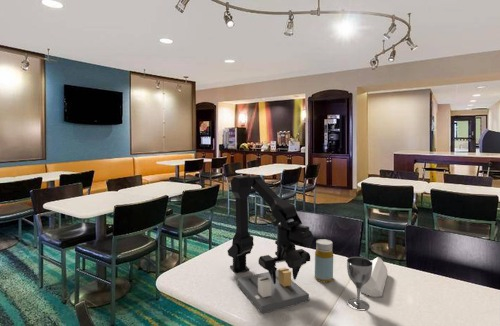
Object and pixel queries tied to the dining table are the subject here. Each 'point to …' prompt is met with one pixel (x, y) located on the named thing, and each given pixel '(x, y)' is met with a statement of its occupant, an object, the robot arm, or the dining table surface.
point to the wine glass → (359, 278)
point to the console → (272, 293)
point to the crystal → (376, 279)
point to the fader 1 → (264, 286)
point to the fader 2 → (284, 276)
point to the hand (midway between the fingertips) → (284, 281)
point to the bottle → (324, 260)
